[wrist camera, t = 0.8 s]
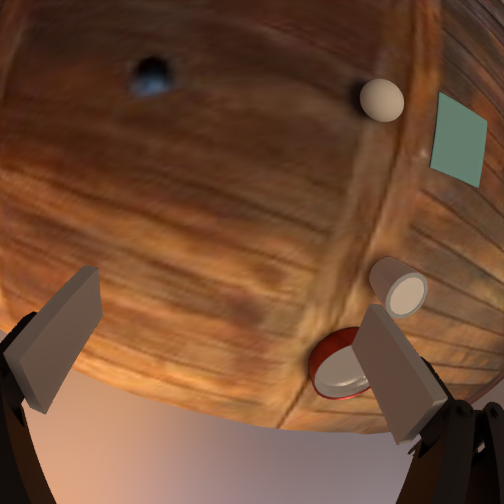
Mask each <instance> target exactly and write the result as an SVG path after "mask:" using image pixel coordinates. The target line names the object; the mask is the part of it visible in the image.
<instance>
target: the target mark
mask: <svg viewBox="0 0 504 504" xmlns="http://www.w3.org/2000/svg"><path fill="white" fill-rule="evenodd" d="M486 131H487V121H486V120H484V119H483V118H481V117H480V116H478V115H477V114H475V113H474V112H472V111H471V110H469V109H468V108H466V107H464V106H463V105H461V104H460V103H458V102H456V101H455V100H453V99H451V98H449V97H448V96H446V95H444V94H442V93H440V92H439V96H438V108H437V119H436V127H435V135H434V143H433V149H432V156H431V162H430V168H433V169H435V170H438V171H440V172H443V173H445V174H447V175H450V176H452V177H455V178H457V179H459V180H462V181H464V182H466V183H468V184H470V185H473V186H475V187H477V188H478V187H479V182H480V176H481V171H482V164H483V157H484V150H485V141H486Z"/></svg>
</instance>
